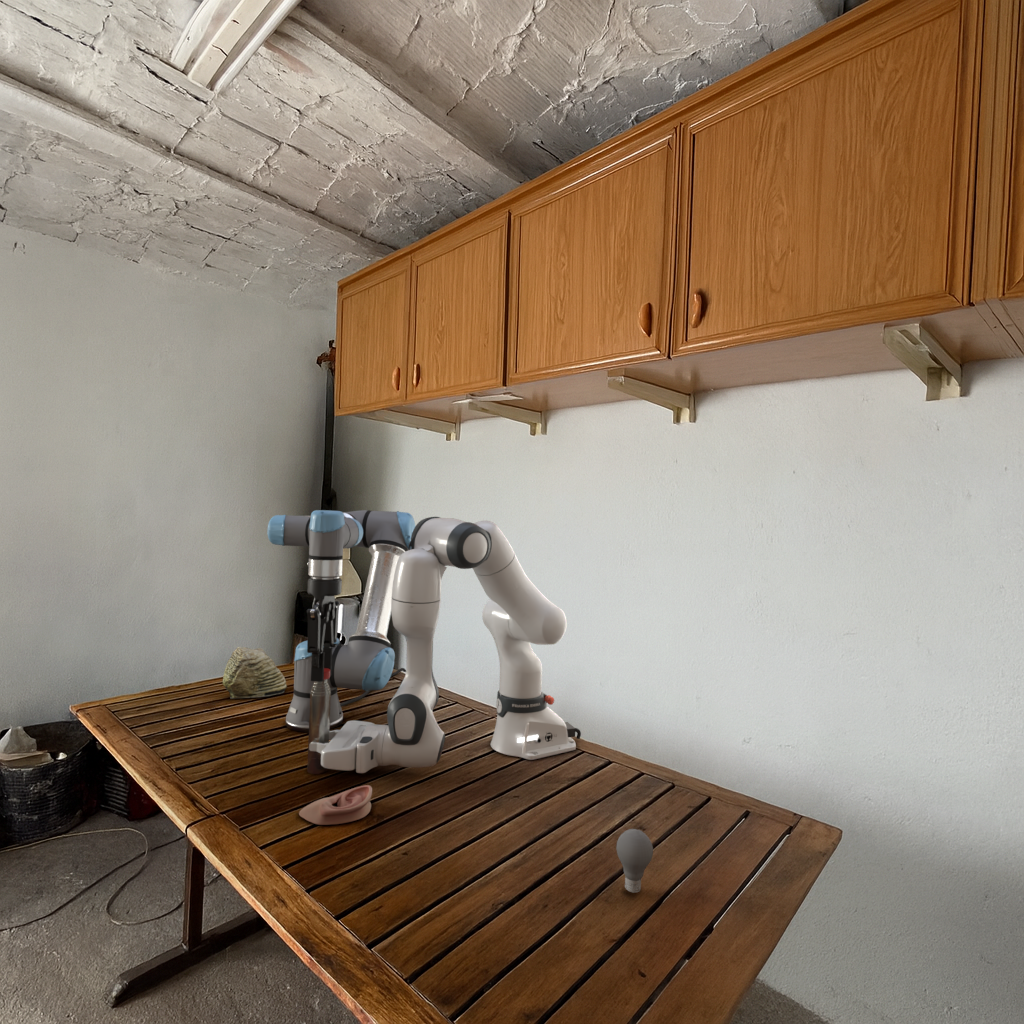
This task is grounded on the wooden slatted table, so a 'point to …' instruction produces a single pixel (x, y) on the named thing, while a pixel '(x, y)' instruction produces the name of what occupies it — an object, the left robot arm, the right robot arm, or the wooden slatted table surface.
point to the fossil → (252, 674)
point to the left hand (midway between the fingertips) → (321, 677)
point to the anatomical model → (339, 807)
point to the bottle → (318, 723)
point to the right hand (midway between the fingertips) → (314, 740)
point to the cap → (326, 673)
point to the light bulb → (634, 857)
